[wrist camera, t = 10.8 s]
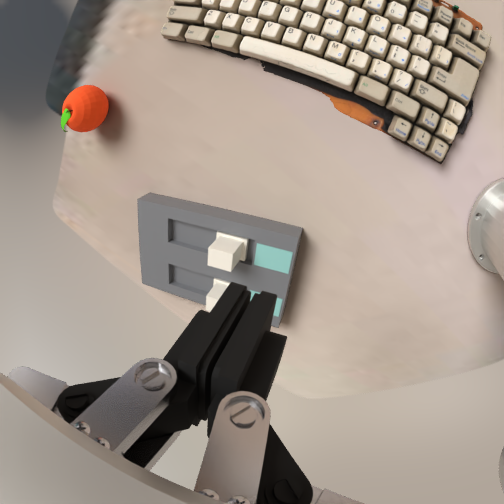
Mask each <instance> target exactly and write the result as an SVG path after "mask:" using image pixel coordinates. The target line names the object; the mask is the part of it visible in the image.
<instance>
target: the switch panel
mask: <svg viewBox="0 0 504 504" xmlns="http://www.w3.org/2000/svg"><path fill="white" fill-rule="evenodd" d="M137 200H138V228H139V246H140V261H141V273H142V283H143V284H146V285H148V286H151V287H154V288H157V289H159V290H162V291H165V292H168V293H171V294H174V295H177V296H179V297H182V298H185V299H188V300H191V301H194V302H197V303H200V304H203V305H206V296H207V294H208V293H209V292H210V290H211V289H212V288H213V283H214V278H218V279H221V280H224V281H228V282H235V283H238V284H242V285H245V286H247V290H248V291H251V299H252V297H253V296H254V294H255V293H258V294H260V293H261V291H266V292H269V293H273V294H276V295H277V300H276V305H275V310H274V314H273V319H272V323H271V326H274V327H279V325H280V322H281V319H282V317H283V314H284V309H285V305H286V301H287V297H288V293H289V288H290V284H291V280H292V275H293V271H294V266H295V262H296V258H297V253H298V248H299V244H300V239H301V235H302V230H303V228H301V227H297V226H293V225H289V224H285V223H281V222H277V221H273V220H269V219H264V218H260V217H256V216H252V215H248V214H243V213H239V212H235V211H231V210H226V209H222V208H218V207H213V206H209V205H204V204H200V203H195V202H191V201H186V200H182V199H177V198H172V197H168V196H163V195H158V194H154V193H148V194H146V195H145V196H143V197H141V198H139V199H137ZM217 231H221V232H225V233H229V234H233V235H237V236H241V237H244V238H248V239H249V243H248V251H247V258H246V260H245V261H242V260H239V262H238V263H237V264H236V266H235V267H234V269H233V270H232V271H231V272H229V271H226V270H222V269H219V268H215V267H212V266H208V265H207V264H208V248H209V246H210V245H211V244H212V243H213V242H214V241H215V240H216V235H217ZM251 299H250V301H251Z"/></svg>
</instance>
